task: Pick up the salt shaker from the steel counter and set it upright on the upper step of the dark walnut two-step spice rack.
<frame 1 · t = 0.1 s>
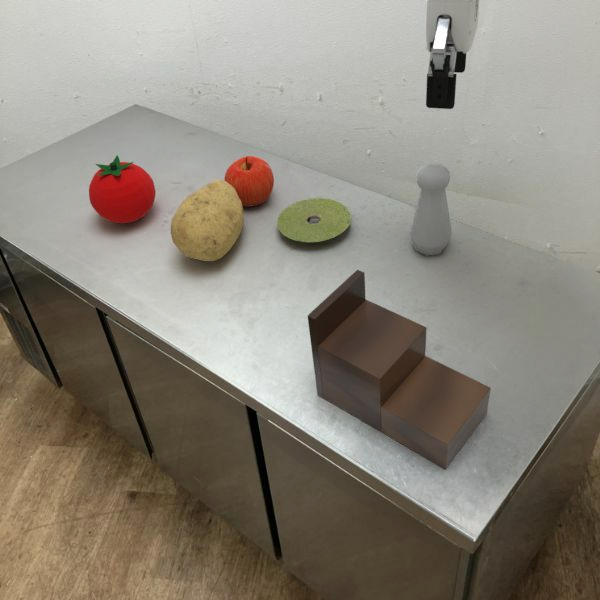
hand: (446, 88, 79), 23 cm above the worktop, tool pointing down, fingers open, 9 cm apart
salt shaker: (429, 247, 94), on the worktop
spice rack: (403, 406, 73), on the worktop
potato: (217, 247, 99), on the worktop
apple: (252, 200, 107), on the worktop
tomato: (130, 217, 107), on the worktop
mat: (315, 230, 100), on the worktop
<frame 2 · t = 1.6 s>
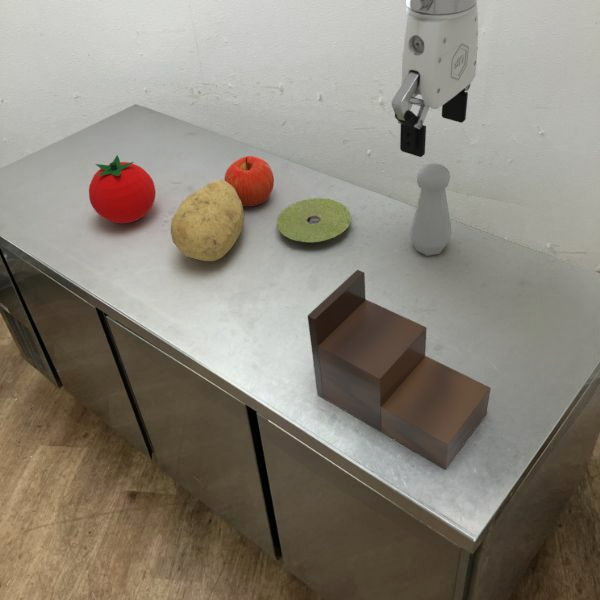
hand: (433, 135, 82), 18 cm above the worktop, tool pointing down, fingers open, 9 cm apart
nothing on the worktop moved.
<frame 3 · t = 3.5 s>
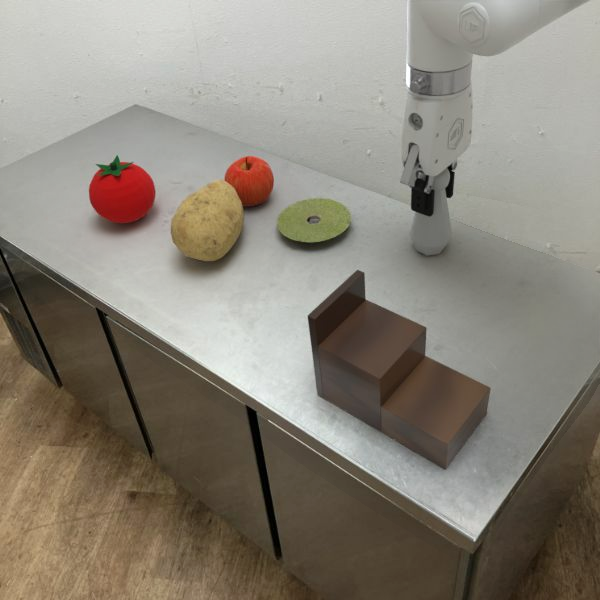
hand: (432, 202, 88), 8 cm above the worktop, tool pointing down, fingers closed on salt shaker, 4 cm apart
salt shaker: (429, 247, 94), on the worktop, touching gripper
everything else where it was.
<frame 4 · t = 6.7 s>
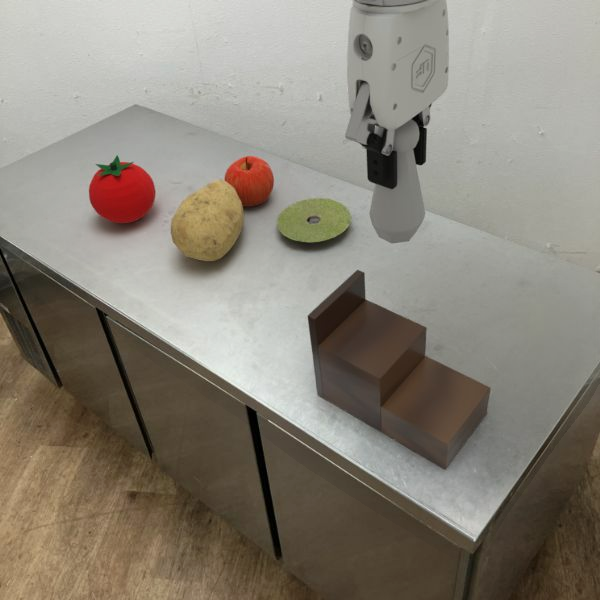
hand: (397, 170, 65), 24 cm above the worktop, tool pointing down, fingers closed on salt shaker, 4 cm apart
salt shaker: (397, 233, 70), point 16 cm above the worktop, touching gripper
everything else where it was.
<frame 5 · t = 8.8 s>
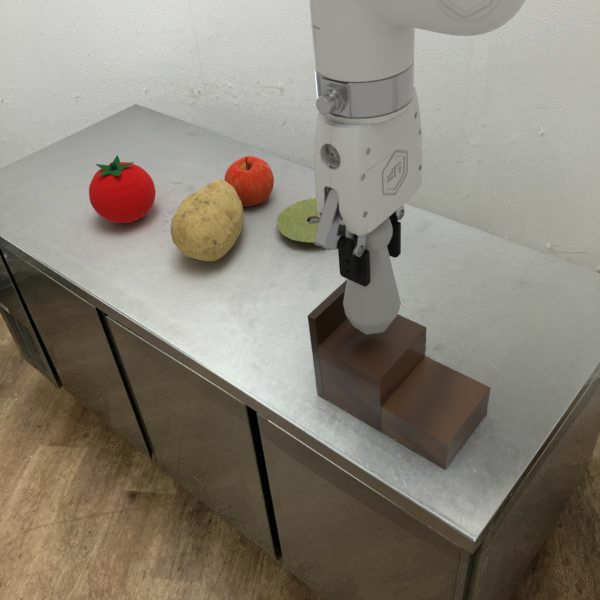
hand: (370, 264, 62), 19 cm above the worktop, tool pointing down, fingers closed on salt shaker, 4 cm apart
salt shaker: (372, 322, 68), point 11 cm above the worktop, touching gripper
everything else where it was.
when the fingers open (17 cm above the worktop, at t = 9.9 s): salt shaker stays where it is, resting on spice rack.
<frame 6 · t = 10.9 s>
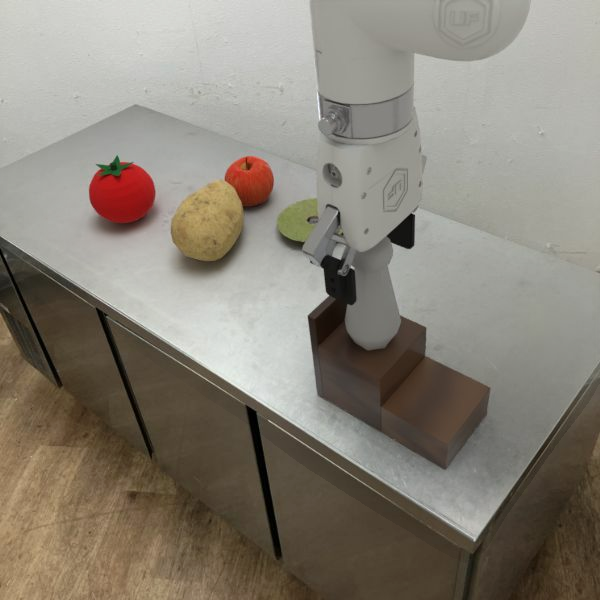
hand: (371, 269, 63), 18 cm above the worktop, tool pointing down, fingers open, 9 cm apart
salt shaker: (373, 337, 69), point 9 cm above the worktop, touching spice rack
everything else where it was.
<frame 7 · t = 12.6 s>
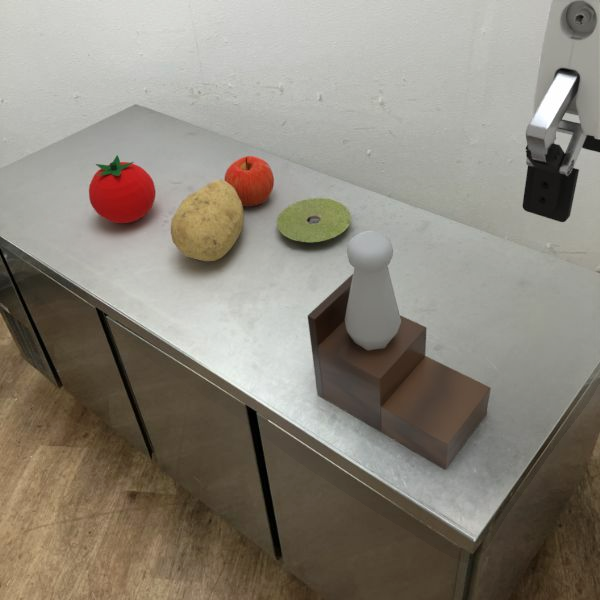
hand: (574, 181, 48), 32 cm above the worktop, tool pointing down, fingers open, 9 cm apart
nothing on the worktop moved.
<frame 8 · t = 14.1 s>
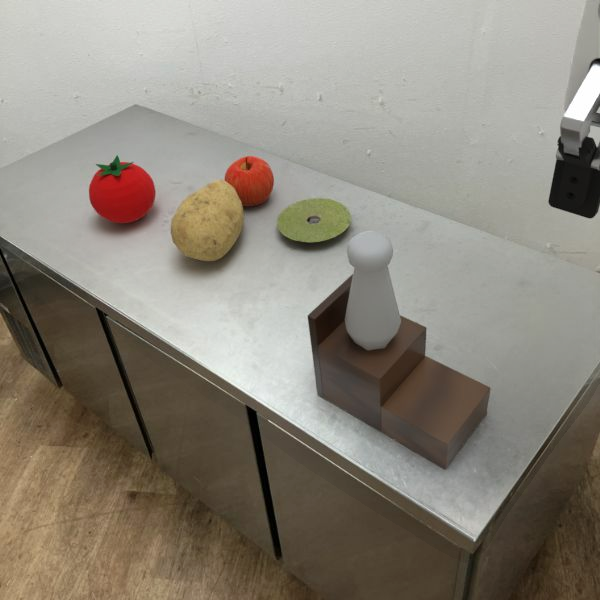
nothing on the worktop moved.
at the end: salt shaker inside the target area on the spice rack (0.0 cm from its centre), point 8.8 cm above the spice rack's base; salt shaker tilted 0°; the gripper is holding nothing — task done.
